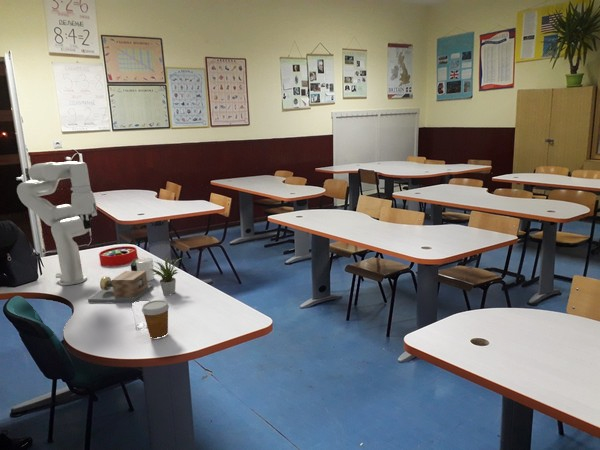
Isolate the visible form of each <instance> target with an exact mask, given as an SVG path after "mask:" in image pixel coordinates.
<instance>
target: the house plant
mask: <svg viewBox="0 0 600 450" xmlns="http://www.w3.org/2000/svg"><path fill="white" fill-rule="evenodd" d="M168 259H169V258H168V257H166V258H165V259H164V262H165V263H164V264H163V263H162V262H160V261H159V260H157V261H154V260H153V263H156V264H157V265H158V266H159V267H158V266H156V265H154V264H153V267H156V268H157V269H158V270H157V269H150V270H152V271H154V274H153V275H154V276H155V275H158V277H161V279H160V280H159V283H160V287H161V290H162V294H163V296H164V295H165V296H171V295H174V294H175V293H176V285H177V283H176V281H177V279H176V278H175V277H173V276H174V275H177V274H178V273H180V272H177V271H178V269H175V267H176V266H177V264H178V261H180V260H181V259H182V257H181V258H178V259H176V260H174V261H173V260H168ZM168 262H169V263H168ZM172 262H173V264H172ZM171 265H172V266H171ZM173 293H174V294H173ZM170 294H171V295H170Z"/></svg>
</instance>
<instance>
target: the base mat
mask: <svg viewBox="0 0 600 450" xmlns="http://www.w3.org/2000/svg"><path fill="white" fill-rule="evenodd" d="M153 289H154V285H153V284H148V288H146V289H145V290H144V291H142V292H141V293H140V294H139V295H137V296H136V297H114V291H113V287H111V288H110V289H109V290H102V289H101V290H99V291H98V292H97V293H95V294H94V295H91V297H89V298H88V299H87V303H88V302H116V303H115V304H117V302H118V304H119V303H120V304H125V303H126V304H129V303H130V304H133V303H132V302H135V301H137V302H138V301H139V300H140V299H141V298H143V297H144V296H145V295H146V294H148V293H149V292H150V291H152V290H153ZM135 303H136V302H135Z"/></svg>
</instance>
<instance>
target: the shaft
mask: <svg viewBox="0 0 600 450" xmlns="http://www.w3.org/2000/svg"><path fill="white" fill-rule="evenodd" d="M112 280H113V279H111V277H110V276H102V277H101V279H100V281H99V286H100V289H101V290H109V289H110V288H111V287H113V284H112ZM138 284H139V287H141V286H142V280H139V281H138Z"/></svg>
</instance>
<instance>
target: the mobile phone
mask: <svg viewBox="0 0 600 450" xmlns="http://www.w3.org/2000/svg"><path fill="white" fill-rule="evenodd" d="M138 259H139V258H138ZM138 259H134V260H133V261H132V263H130V271H138V270H137V264H136V260H138Z"/></svg>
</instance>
